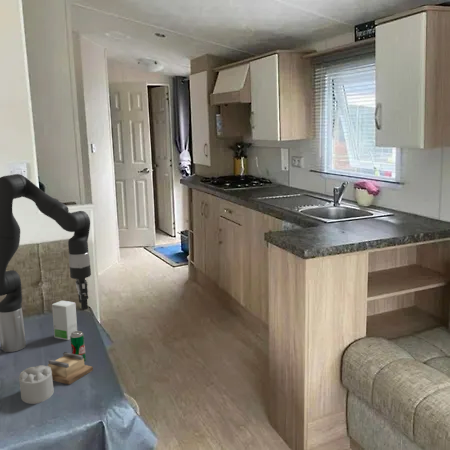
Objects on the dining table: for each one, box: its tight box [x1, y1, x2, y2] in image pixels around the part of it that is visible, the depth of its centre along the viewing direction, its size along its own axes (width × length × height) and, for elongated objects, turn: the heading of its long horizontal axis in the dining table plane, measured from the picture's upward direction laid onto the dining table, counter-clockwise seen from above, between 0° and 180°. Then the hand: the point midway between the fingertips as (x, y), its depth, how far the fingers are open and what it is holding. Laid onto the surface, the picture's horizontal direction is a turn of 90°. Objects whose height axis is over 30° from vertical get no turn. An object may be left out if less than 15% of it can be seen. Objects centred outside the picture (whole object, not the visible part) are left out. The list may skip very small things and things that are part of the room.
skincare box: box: [51, 300, 78, 341], centre depth 220 cm, size 8×7×16 cm
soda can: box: [69, 330, 87, 363], centre depth 193 cm, size 5×5×12 cm
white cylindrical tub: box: [18, 364, 55, 405], centre depth 170 cm, size 10×13×9 cm
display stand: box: [47, 351, 94, 386], centre depth 184 cm, size 14×12×6 cm
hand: (83, 305), depth 190 cm, fingers open, 8 cm apart
